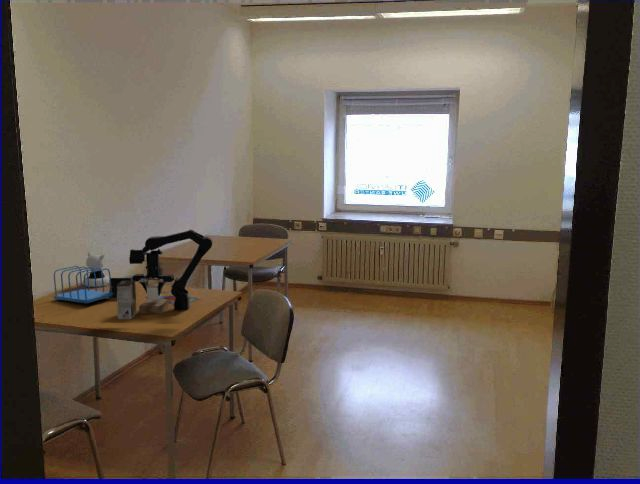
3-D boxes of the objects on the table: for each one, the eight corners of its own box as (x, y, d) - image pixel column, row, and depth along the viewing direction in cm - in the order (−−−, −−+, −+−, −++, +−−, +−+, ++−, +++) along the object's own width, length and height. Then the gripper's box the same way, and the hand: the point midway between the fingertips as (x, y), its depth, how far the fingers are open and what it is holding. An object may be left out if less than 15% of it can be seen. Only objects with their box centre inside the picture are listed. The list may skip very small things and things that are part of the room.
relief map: (201, 300, 291) (200, 297, 291) (177, 306, 279) (177, 302, 279) (169, 293, 306) (169, 289, 306) (146, 298, 294) (146, 294, 294)
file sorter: (53, 299, 289) (50, 270, 287) (82, 292, 304) (79, 264, 302) (86, 303, 277) (83, 272, 275) (114, 296, 292) (112, 267, 290)
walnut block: (168, 306, 277) (168, 299, 276) (160, 313, 264) (160, 306, 263) (148, 305, 277) (148, 299, 276) (139, 313, 264) (139, 305, 264)
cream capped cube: (161, 296, 272) (160, 283, 271) (157, 299, 267) (157, 286, 266) (150, 296, 272) (149, 283, 271) (146, 299, 267) (146, 285, 266)
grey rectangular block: (108, 298, 289) (109, 277, 291) (109, 298, 293) (110, 278, 294) (130, 298, 291) (131, 277, 293) (131, 298, 295) (132, 278, 296)
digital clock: (129, 288, 313) (129, 272, 312) (141, 290, 311) (140, 273, 309) (112, 294, 301) (111, 277, 299) (123, 295, 298) (123, 278, 297)
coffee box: (122, 314, 262) (121, 280, 260) (137, 313, 263) (135, 280, 261) (117, 319, 253) (115, 284, 251) (131, 319, 254) (130, 284, 252)
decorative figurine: (115, 283, 327) (114, 249, 324) (102, 288, 313) (101, 253, 310) (91, 282, 329) (90, 248, 326) (77, 287, 315) (75, 252, 312)
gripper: (176, 260, 275) (177, 291, 277) (139, 260, 275) (140, 291, 278) (170, 264, 264) (171, 297, 266) (131, 264, 264) (132, 296, 267)
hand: (154, 295), depth 269 cm, fingers closed on cream capped cube, 5 cm apart
